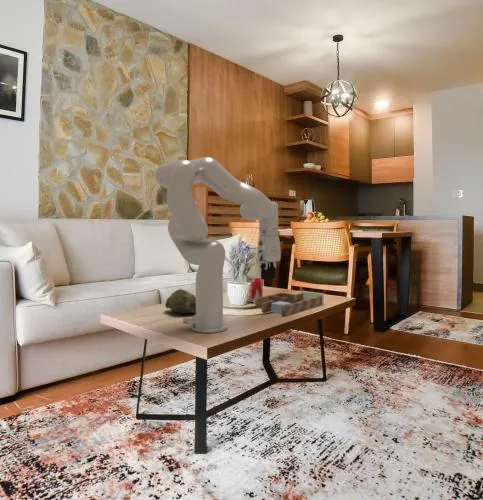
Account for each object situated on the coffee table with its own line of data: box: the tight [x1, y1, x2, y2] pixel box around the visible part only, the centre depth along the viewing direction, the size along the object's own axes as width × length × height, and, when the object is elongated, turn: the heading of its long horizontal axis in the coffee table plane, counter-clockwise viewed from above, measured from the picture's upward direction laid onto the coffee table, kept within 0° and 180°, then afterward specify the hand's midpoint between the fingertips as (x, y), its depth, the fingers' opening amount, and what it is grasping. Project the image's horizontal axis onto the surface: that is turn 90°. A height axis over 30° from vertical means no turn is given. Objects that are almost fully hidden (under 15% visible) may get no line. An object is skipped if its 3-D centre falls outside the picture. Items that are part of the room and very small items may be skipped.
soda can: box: [247, 275, 264, 302], centre depth 187 cm, size 7×7×12 cm
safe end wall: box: [300, 290, 325, 306], centre depth 185 cm, size 1×11×5 cm, turn 49°
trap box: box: [254, 292, 323, 317], centre depth 176 cm, size 30×20×4 cm, turn 139°
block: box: [270, 301, 292, 315], centre depth 166 cm, size 6×6×4 cm
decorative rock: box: [165, 288, 196, 315], centre depth 165 cm, size 15×16×10 cm
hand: (268, 278), depth 159 cm, fingers open, 4 cm apart
